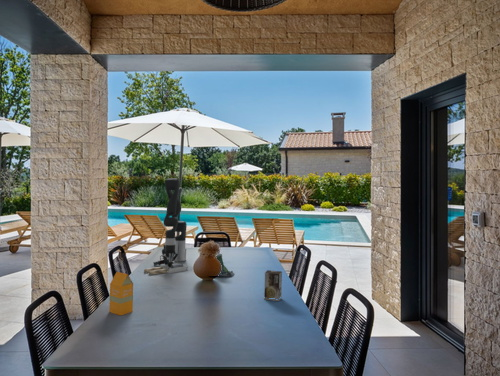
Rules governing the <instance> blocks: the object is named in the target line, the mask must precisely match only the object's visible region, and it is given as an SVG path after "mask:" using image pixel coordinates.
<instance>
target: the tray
mask: <svg viewBox="0 0 500 376" xmlns="http://www.w3.org/2000/svg"><path fill="white" fill-rule="evenodd" d="M175 264H180V263H179V262H178V263H175ZM160 267H163V269H168V272H167V274H173V273H179V272H185V271H188V266H187V265H185V264H183V267H178V268H171V267H168V265H165V264H161V265H160Z"/></svg>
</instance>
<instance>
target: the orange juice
mask: <svg viewBox="0 0 500 376" xmlns="http://www.w3.org/2000/svg"><path fill="white" fill-rule="evenodd" d="M133 306H134V282H133V281H132V278H130V276H129V274H128V273H124V272H121V271H120V272H119V271H116V273H115V274H114V275H113V278H112V280H111V281H110V283H109V307H108V308H109V311H108V312H109V313H111V314H114V315H118V316H123V315H126V314H130V313H132V312H133V308H134V307H133Z"/></svg>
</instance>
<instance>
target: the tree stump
mask: <svg viewBox="0 0 500 376" xmlns="http://www.w3.org/2000/svg"><path fill="white" fill-rule="evenodd" d="M217 254H218V255H217V256H216V257H217V259H218V260H219V261H220V263H221V265H222V270H221V273H220V274H219V276H218V277H217V278H230V277H234V276H235V272H233V270H231V271H230V270H229V269H228V268H227V267H226V265H224V264H225V263H224V261H223V253H217Z"/></svg>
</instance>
